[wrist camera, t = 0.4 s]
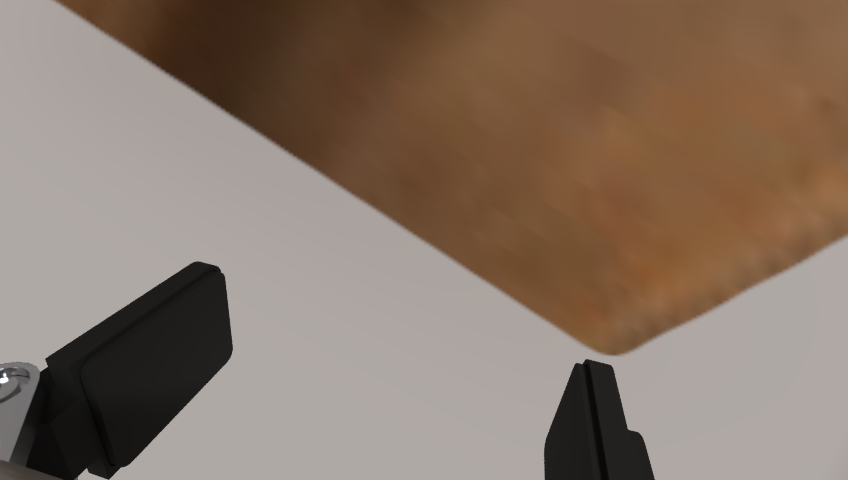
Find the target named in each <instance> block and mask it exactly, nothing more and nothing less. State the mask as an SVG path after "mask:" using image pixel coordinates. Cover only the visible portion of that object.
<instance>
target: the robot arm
mask: <svg viewBox="0 0 848 480" xmlns="http://www.w3.org/2000/svg"><path fill="white" fill-rule="evenodd" d="M232 351H233V346H232V336H231V327H230V318H229V309H228V300H227V291H226V282H225V276H224V274H223V273H221V270H220V269H219V267H217V266H214V265H211V264H206V263H203V262H193V263H192V264H190V265H189V266H187V267H185V268H184V269H182V270H181V271H179V272H178V273H176V274H175V275H173V276H171V277H170V278H168V279H167V280H165V281H164V282H162V283H161V284H159V285H158V286H156V287H154V288H153V289H151V290H150V291H148V292H147V293H145V294H144V295H143V296H141V297H139V298H138V299H136V300H135V301H133V302H131V303H130V304H129V305H127V306H126V307H124V308H122V309H121V310H119V311H118V312H116V313H115V314H113V315H112V316H110V317H108V318H107V319H105V320H104V321H102V322H101V323H100V324H98V325H96V326H95V327H93V328H92V329H90V330H89V331H87V332H86V333H84V334H83V335H81V336H79V337H78V338H76V339H75V340H73V341H72V342H70V343H69V344H67V345H66V346H64V347H63V348H61V349H60V350H58V351H56V352H55V353H53V354H52V355H50V356H49V357H47V358H46V359H45V360H46V362H47V365H48V367H47V368H46V369H44V370H43V371H41V372H40V371H39V369H38V368H37V367H36V366H35V365H32V364H30V363H23V362H12V363H4V364H0V480H78V476H79V475H80V474H81V473H82V472H83V471H84V470H85V469H86V468H87V469H88V472H89V473H91V474H94V475H97V476H100V477H103V478H105V479H108V480H109V479H110V478H111V477H112V476H113V475H114V474H115V473H116V472H117V471H118V470H119V469H120V468H121V467H125V466H127V465H129V464H130V463H131V462H132V461H133V460H134V459H135V458H136V457H137V456H138V455H139V454H140V453H141V452H142V451H143V450H144V449H145V448H146V447H147V446H148V444H150V442H151V441H152V440H153V439H154V438H155V437H156V436H157V435H158V434H159V433H160V432H161V431H162V430H163V429H164V428H165V427H166V426H167V425H168V424H169V423H170V421H171V420H172V419H173V418H174V417H175V416H176V415H177V414H178V413H179V412H180V411H181V410H182V409H183V408H184V407H185V406H186V405H187V404H188V403H189V402H190V401H191V399H192V398H193V397H194V396H195V395H196V394H197V393H198V392H199V391H200V390H201V389H202V388H203V387H204V385H206V383H208V382H209V381H210V380H211V379H212V377H213V376H214V375H215V374H216V373H217V372H218V371H219V370H220V369H221V368H222V367H223V366H224V365H225V364H226V363H227V362H228V360H229V359H230V357H231V354H232ZM544 460H545V461H544V464H545V480H655V479H654V475H653V471H652V468H651V464H650V460H649V457H648V453H647V450H646V446H645V443H644V440H643V438H642V436H641V435H640V434H639V433H638V432H635V431H630V430H628V429H627V424H626V420H625V416H624V412H623V408H622V403H621V399H620V395H619V391H618V387H617V382H616V378H615V374H614V370H613V367H612V366H611V365H608V364H604V363H600V362H596V361H592V360H588V359H586V360H585V361H584V363H583V364H579V363H576V364H575V365H574V368H573V370H572V373H571V375H570V378H569V381H568V383H567V386H566V389H565V391H564V394H563V396H562V399H561V402H560V404H559V406H558V409H557V412H556V414H555V417H554V420H553V422H552V425H551V427H550V430H549V433H548V435H547V438H546V442H545V448H544Z"/></svg>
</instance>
